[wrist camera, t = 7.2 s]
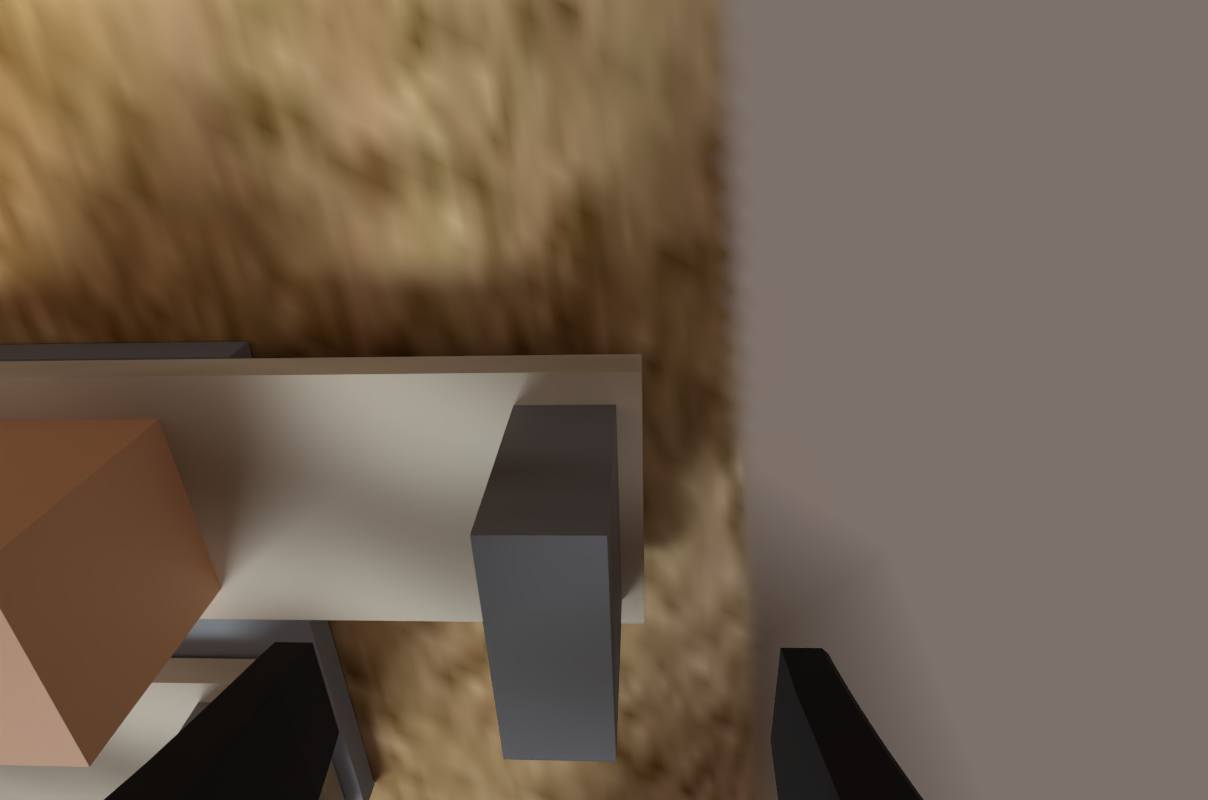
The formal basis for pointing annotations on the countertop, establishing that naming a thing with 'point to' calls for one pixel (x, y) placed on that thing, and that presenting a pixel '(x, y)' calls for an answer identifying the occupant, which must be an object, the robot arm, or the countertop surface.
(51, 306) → the countertop surface
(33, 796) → the far strip
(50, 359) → the lane board
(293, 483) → the near strip
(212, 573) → the block
